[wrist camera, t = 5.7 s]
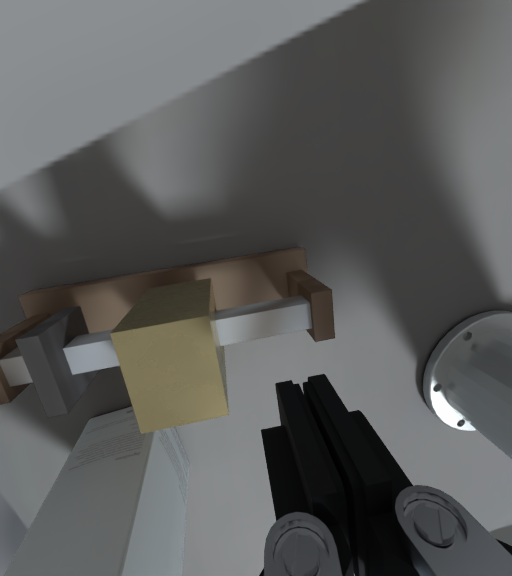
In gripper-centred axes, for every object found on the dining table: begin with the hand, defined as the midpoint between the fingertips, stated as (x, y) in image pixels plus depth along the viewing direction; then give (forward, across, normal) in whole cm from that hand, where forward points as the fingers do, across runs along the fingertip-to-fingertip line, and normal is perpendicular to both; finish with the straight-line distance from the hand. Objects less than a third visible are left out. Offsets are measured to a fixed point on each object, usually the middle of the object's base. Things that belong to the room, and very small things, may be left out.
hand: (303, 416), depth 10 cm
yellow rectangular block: (+10, +5, -1) cm, 11 cm away
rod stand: (+14, +6, -1) cm, 15 cm away
